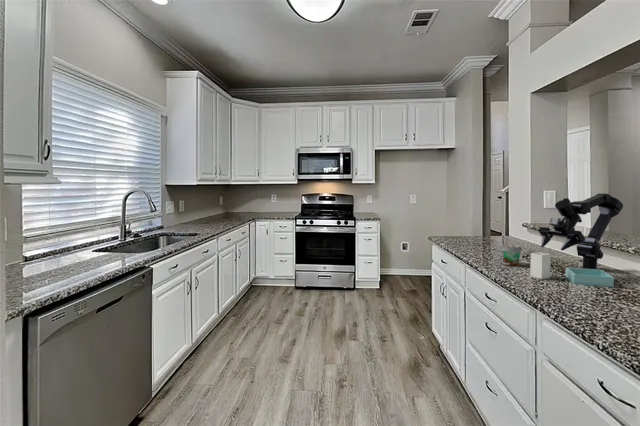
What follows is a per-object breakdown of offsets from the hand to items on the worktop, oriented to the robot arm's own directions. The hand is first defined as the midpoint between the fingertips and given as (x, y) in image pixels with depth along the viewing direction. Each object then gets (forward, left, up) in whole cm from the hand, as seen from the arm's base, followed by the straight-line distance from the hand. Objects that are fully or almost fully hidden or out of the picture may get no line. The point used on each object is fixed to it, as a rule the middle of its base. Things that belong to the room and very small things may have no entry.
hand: (551, 248), depth 161 cm
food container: (-18, -13, -13) cm, 26 cm away
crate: (+5, +13, -13) cm, 19 cm away
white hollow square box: (+5, -5, -13) cm, 15 cm away
